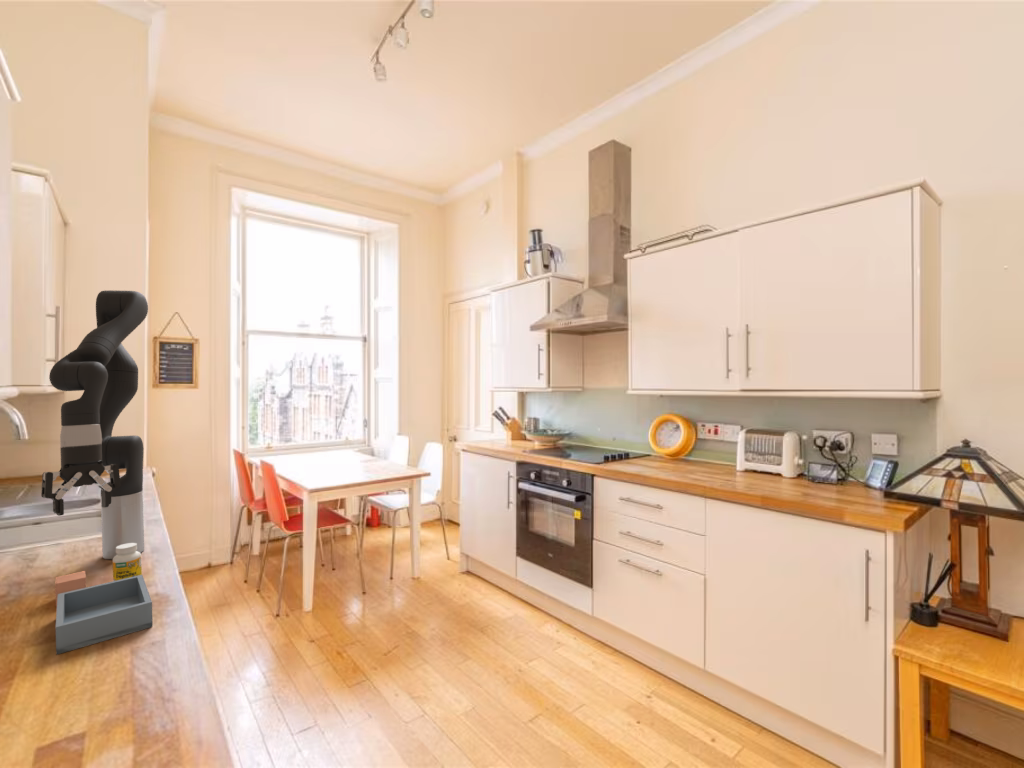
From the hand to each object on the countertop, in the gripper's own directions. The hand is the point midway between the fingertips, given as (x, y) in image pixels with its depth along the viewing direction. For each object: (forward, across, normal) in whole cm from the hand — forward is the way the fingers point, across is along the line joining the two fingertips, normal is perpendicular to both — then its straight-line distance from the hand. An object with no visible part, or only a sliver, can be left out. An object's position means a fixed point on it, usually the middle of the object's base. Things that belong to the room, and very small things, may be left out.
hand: (83, 510), depth 117 cm
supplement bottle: (+18, -5, +9) cm, 21 cm away
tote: (+20, +5, +26) cm, 33 cm away
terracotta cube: (+18, +4, +6) cm, 20 cm away
